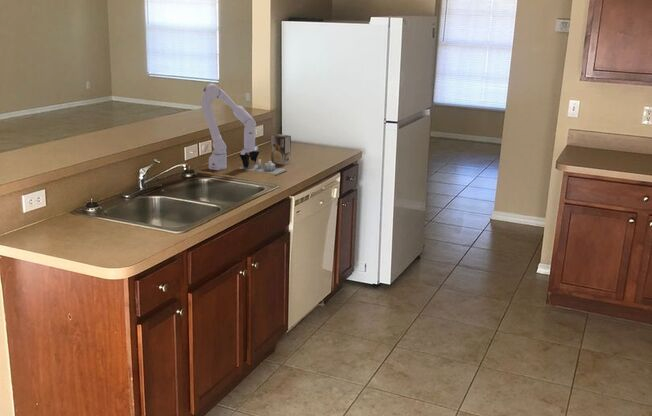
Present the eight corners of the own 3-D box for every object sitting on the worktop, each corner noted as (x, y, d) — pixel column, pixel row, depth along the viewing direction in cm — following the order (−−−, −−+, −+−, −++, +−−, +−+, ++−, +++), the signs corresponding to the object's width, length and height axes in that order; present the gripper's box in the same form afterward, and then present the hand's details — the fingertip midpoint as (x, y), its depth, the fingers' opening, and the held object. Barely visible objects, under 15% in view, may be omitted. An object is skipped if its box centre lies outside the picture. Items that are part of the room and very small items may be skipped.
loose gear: (251, 168, 349) (251, 162, 348) (242, 167, 351) (242, 161, 351) (256, 166, 354) (256, 160, 353) (247, 165, 356) (247, 159, 355)
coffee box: (291, 164, 366) (291, 135, 362) (285, 167, 361) (285, 137, 356) (276, 162, 370) (277, 133, 366) (270, 164, 365) (270, 135, 360)
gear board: (275, 176, 341) (276, 165, 339) (238, 170, 349) (238, 159, 347) (286, 171, 351) (287, 161, 349) (250, 166, 360) (250, 155, 358)
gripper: (249, 143, 341) (248, 169, 345) (263, 139, 354) (263, 164, 357) (237, 141, 344) (237, 167, 347) (251, 137, 356) (251, 162, 360)
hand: (249, 165), depth 353 cm, fingers open, 7 cm apart
